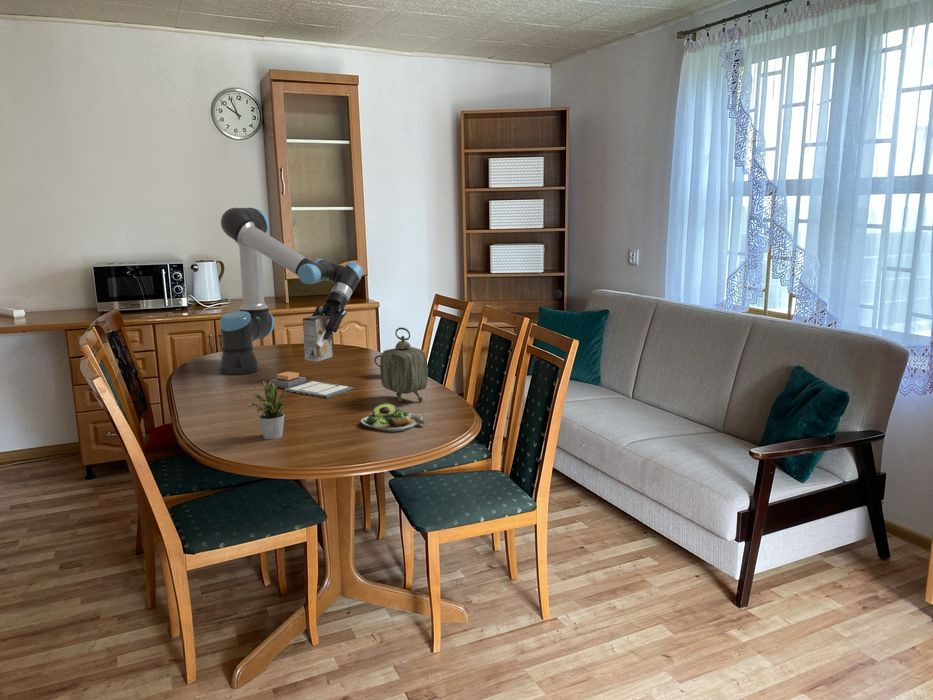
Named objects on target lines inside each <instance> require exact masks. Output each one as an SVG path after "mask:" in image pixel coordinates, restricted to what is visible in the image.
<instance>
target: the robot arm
mask: <svg viewBox="0 0 933 700" xmlns="http://www.w3.org/2000/svg"><path fill="white" fill-rule="evenodd" d="M269 226H270V224H269V219H268V217H267V215H266V214H265V213H264V212H263V210H260V209H258V208H255V207H233V208H232V207H231V208H229V209H227V210H226V211H224V213H222V215H221V218H220V227H221V229H222V231H223V233H225V235H227V236H228V237H229V238H231V239H233V240H234V242H235V244H237V245H238V247H239V250H238V251H239V263H240V277H241V279H240V280H241V292H242V293H241V294H242V295H241V297H242V305H240V307H239V311H233V312H227V313H225V314H223V315H222V316H221V317H220V321H219V322H220V323H219V327H220V335H221V347H222V348H221V349H222V354H221V358H220V363H219V367H218V368H219V369H218V371H219V373H220V374H222V375H227V376H228V375H229V376H230V375H235V376H236V375H245V374H252V373H255V372H257V371H259V370H260V369H259V363H258V360H257V357H256V355H255V353H254V348H253V346H254V345H253V342H254V341H257V340H261V339H264V338H266V337H267V336H269V335H270V334H271V333H272V332H273V330H274V328H275V320H274V316H273V315H272V314H271V312H270V310H269V309H270V308H269V306H268V305H267V304H266V303H265V291H264V276H263V256H265V257H267V258H268V259H269V260H272V261H273V262H274V263H277V264H278V265H279V266H282V267H283V268H285V269H286V270H288V271H289V272H291V273H293V274H295V275H296V276H297V277H298V279H299V281H300V282H301V283H302V284H305V285H313V284H317V283H321V282H325V281H327V282H331V283H334V286H333V287H332V289H331V290H330V292H329V294H328V296H327V297H326V299H325V300H326V301H325V304H324V305H323V306H320V305H317V306H316V308H315V310H314V312H313V313H312V315H311V316H310V317H312V316H318V315H321V316H331V318H330V320H329V322H328V324H327V327H326V330H327V331H326V330H324V331H323V332H322V334H321V336H320V338H319V339H318V341H317V343H316V344H317V345H318V346H319V347H320V348H322V346H323V344H324V342H325V341H326V340H327V339H328V337H329V335H330V334H331V333H337V331H338V330H339V327H340V325H341V323H342V321H343V319H344V317H346V315H347V311H346V310H345V307H346V305H347V303H348V301H349V300H350V298H351V296H352V294H353V293H354V291H355V289H356V287H357V285H358V284H359V283H360V282H361V278H362V276H363V274H364V270H363V269H364V268H363V267H362V266H361V265H360V264H358V263H356V262H353V261H349V262H347V263H346V264H345V265H342V264H338V263H335V262H332V261H329V260H327V259H322V258H315V260H314V261H312V260H310V259H309V258H307V257H306V256H304V255H302V254H301V253H299V252H297V251H295V249H292V248H290V247H289V246H287V244H285V243H283V242H281V241H279V240H277V239H276V238H274V237H273V236H271V235H270V234H267V232H268V230H269ZM262 255H263V256H262ZM301 342H302V343H303V344H304V337H303V338H302V341H301Z"/></svg>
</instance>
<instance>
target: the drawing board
mask: <svg viewBox="0 0 933 700" xmlns="http://www.w3.org/2000/svg"><path fill="white" fill-rule="evenodd" d="M290 389H291V390H290ZM351 389H353V390H354V386H349V385H348V386H347V385H342V384H336V383H328V382H323V381H322V382H321V381H315V380H310V381H306V383H303V384H299V385H296V386H293V387H289V388H286V389H284V391H285V390H286V391H289V392H288V393H293V392H296V393H295V394H299V393H302V394H301V395H305V394H308V395H307V396H311V395H314V396H313V397H317V396H321V397H320V398H323V397H326V398H325V399H329V398H332V397H334V396H333V395H335V396H338V395H340V393H341V394H343V392H344V393H347V392H349V390H350V391H352V390H351ZM286 391H285V392H286ZM346 391H347V392H346ZM337 394H338V395H337ZM331 396H332V397H331ZM328 397H329V398H328Z"/></svg>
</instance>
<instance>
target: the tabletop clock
mask: <svg viewBox="0 0 933 700" xmlns="http://www.w3.org/2000/svg"><path fill="white" fill-rule="evenodd" d="M399 330H400V331H401V330H404V331H406V332H407V334H408V337H407V338H406V337H405V336H404V335H402V336H401V337H400V336H399V335H398V331H399ZM395 337H396V338H397V339H398V340H400V341H398V342H397V343H396V345H395V347H394V348H390V349H385V350H383V351H384V352H382V353H381V354H380V355H381V357H380V362H379V363H380V364H379V365H380V367H379V369H380V380H381V381H380V382H381V385H382V387H383V388H384V389H386V390H389V391H392V392H394V393H396V396H397V399H396V402H398V403H402V400H403V398H402V394H406V395H407V394H411V393H413V394H415V396H416V397H417V399H418V402H420V403H421V402H423V400H424V398H423V397H422V396H420V394H419V393H418V391H422V390H425V389H426V388H427V385H428V377H429V376H428V375H429V374H428V373H429V367H428V358H427V354H426V352H425V351H424V350H422V349H420V348H417V347H413V346H411V344H410V343H409V341H408V340H409V339H410V338H411V332H410V330H409V329H408V328H406V327H398V328H396V329H395Z"/></svg>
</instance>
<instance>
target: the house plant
mask: <svg viewBox="0 0 933 700" xmlns="http://www.w3.org/2000/svg"><path fill="white" fill-rule="evenodd" d="M262 382H263V383H262V384H263V386H264V387H263V388H264V396H265V399H264V397H262V396H261V395H260V394H259V392H258V391H256V390H255V389H254V388H251V387H249V386H247V388H249V389H250V390H252V391H253V392H255V393H253V392H251V394H253V395H250V396H254V397H255V398H257V400H259V401H260V402H256V403H254V402H252V401H250V403H251V405H249V406H248V408H247V409H249V408H252V407H255V408H257V409H256V413H258V412H261V414H259V415H258V419H259V420H258V421H259V424H260V428H261V433H262V437H263V439H265V440H277V439H280V438H282V437H283V432H284V421H285V413H284V412H282V411H283V410H284V409H286V408H287V406H284V403H282V402H284V401H285V400H288V399H289V400H291V398H283V396H284V395H285V394H286V393H288V392H287V391H286V390H284V391H283V393H282V394H281V395H280V397H279V398H278V399H277V397H278V396H277V395H278V388H277V386H276V385H275V387H274V384H273V383H274V382H273V383H272V386H271V382H270V381H269V383H268V384H267V382H266V381H265V380H262ZM290 390H291V389H290ZM246 394H248V395H249V394H250V392H248V393H246ZM282 398H283V399H282ZM245 402H246V403H247V402H248V403H249V401H245ZM262 405H263V406H262ZM282 406H284V407H282ZM288 408H289V409H291V408H290V406H288Z"/></svg>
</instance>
